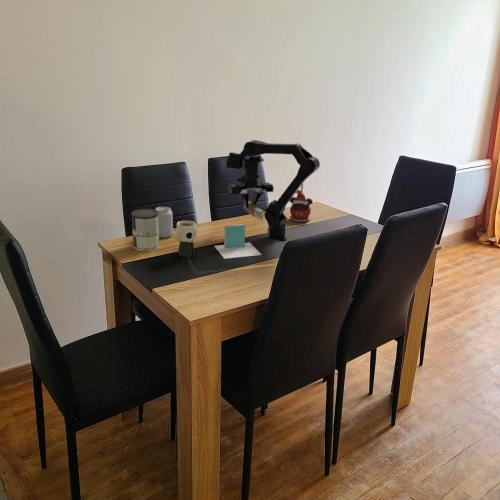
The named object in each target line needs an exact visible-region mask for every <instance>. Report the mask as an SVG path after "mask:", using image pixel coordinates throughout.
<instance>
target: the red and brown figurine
mask: <svg viewBox="0 0 500 500" xmlns="http://www.w3.org/2000/svg"><path fill="white" fill-rule="evenodd" d="M303 190H304V183H303V184H302V185H301V186H300V189H298V190H297V192H296V193H295V194H297V196H293V197H292V198H291V199H290V201H289V202H290V204H292V205H291V206H290V209H289V213H290V216H289V219H290V220H291V221H295V222H298V221H299V223H303V222H304V223H305V222H308V221H310V219H311V217H310V215H311V210H312V209H311V207H310V205H312V204H313V200H312V198H309V197H307V198H306V196H305V194H304V193H303ZM289 202H288V203H289Z"/></svg>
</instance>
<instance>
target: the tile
mask: <svg viewBox="0 0 500 500" xmlns="http://www.w3.org/2000/svg"><path fill="white" fill-rule="evenodd" d="M223 235H224V237H223V239H224V240H223V243H224V244H223V245H224V247H225V248H234V247H245V243H246V241H245V239H246V224H245V223H238V224H237V223H235V224H226V225H224V232H223Z"/></svg>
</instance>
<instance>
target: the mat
mask: <svg viewBox="0 0 500 500" xmlns="http://www.w3.org/2000/svg"><path fill="white" fill-rule="evenodd" d="M214 248H215V249H216V250H217V251H218V253H219V254H220V255H221V256H222V258H223V259H225V260H226V259H233V258H244V257H252V256H256V257H257V256H262V255H263V254H262V253H261V252H260V251H259V250H258V249H257V248H256V247H255V246H254V245H253V244H252V243H251V242H245V247H234V248H225V247H224V244H221V245H220V244H219V245H218V244H217V245H214Z"/></svg>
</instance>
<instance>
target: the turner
mask: <svg viewBox="0 0 500 500" xmlns="http://www.w3.org/2000/svg"><path fill="white" fill-rule="evenodd" d="M243 210H245V212H247V213H248V214H249V215H250V216H252V217H254V218H255V219H256V220H257V221H262V220H264V210H262V209H261V208H260V206H258V205H255V204H253V203H252V201H250V200H249V201H248V208H246V206H245V203H244V202H243Z"/></svg>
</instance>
